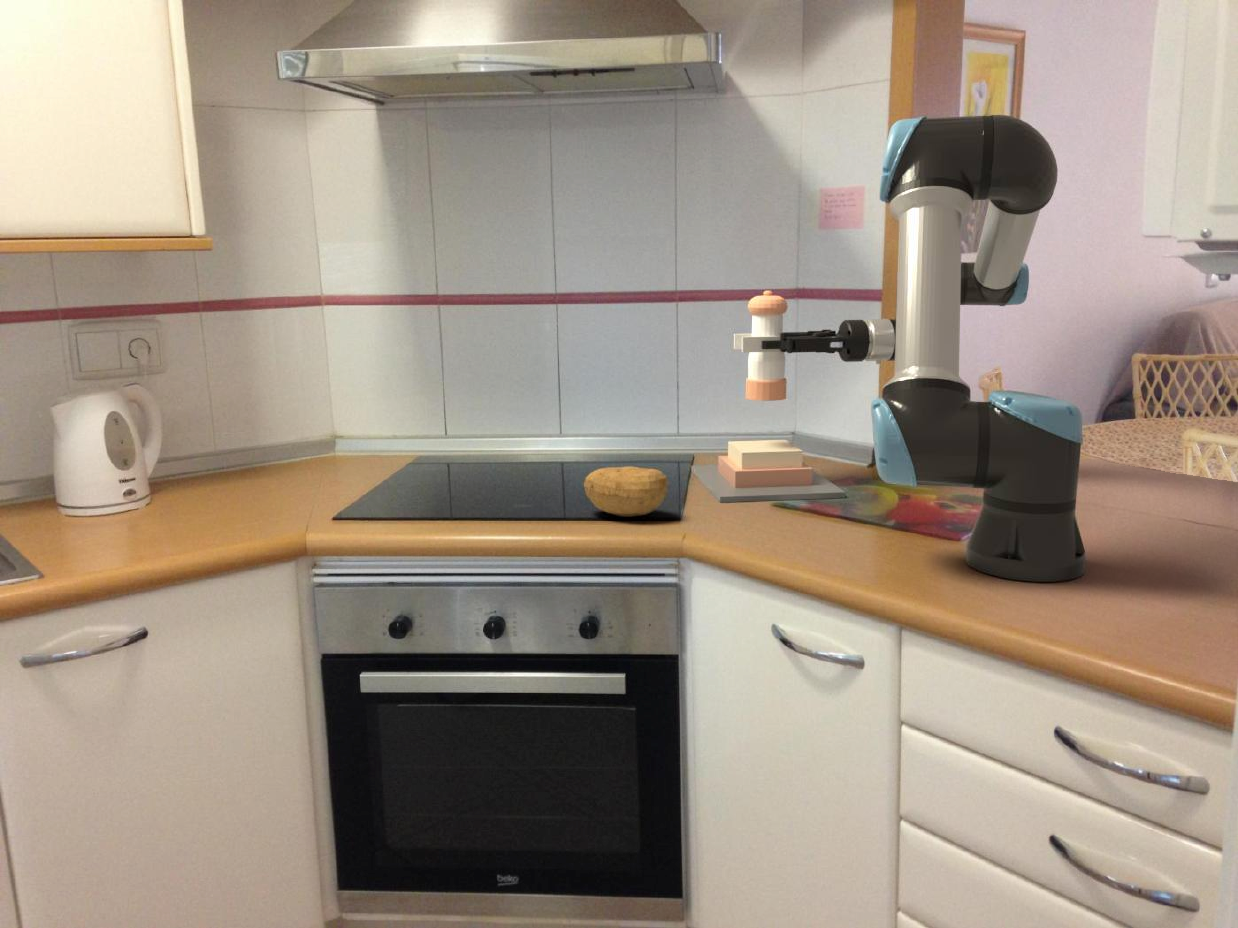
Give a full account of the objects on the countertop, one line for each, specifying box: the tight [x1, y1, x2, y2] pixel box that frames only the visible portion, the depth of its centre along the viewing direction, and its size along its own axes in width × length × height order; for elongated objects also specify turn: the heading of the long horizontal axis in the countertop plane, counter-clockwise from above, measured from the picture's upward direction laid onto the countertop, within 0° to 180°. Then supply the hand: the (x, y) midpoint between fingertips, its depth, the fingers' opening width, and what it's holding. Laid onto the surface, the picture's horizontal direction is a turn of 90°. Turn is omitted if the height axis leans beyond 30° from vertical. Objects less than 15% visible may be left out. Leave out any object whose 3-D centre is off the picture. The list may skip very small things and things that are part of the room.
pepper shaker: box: [745, 290, 789, 402], centre depth 186 cm, size 7×7×19 cm
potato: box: [583, 465, 669, 518], centre depth 168 cm, size 10×14×8 cm
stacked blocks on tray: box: [691, 439, 846, 504], centre depth 190 cm, size 26×22×7 cm
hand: (738, 343), depth 185 cm, fingers closed on pepper shaker, 5 cm apart
